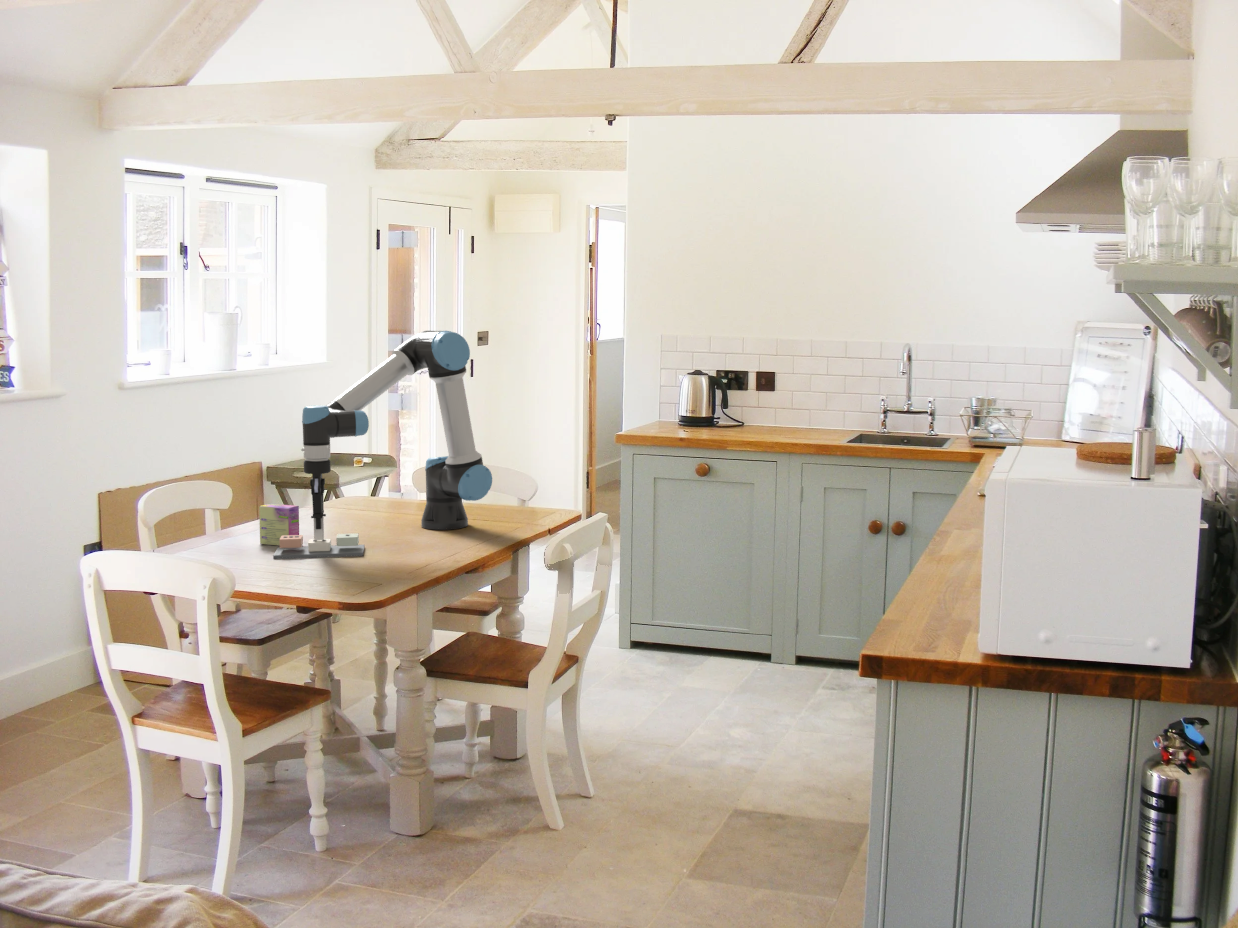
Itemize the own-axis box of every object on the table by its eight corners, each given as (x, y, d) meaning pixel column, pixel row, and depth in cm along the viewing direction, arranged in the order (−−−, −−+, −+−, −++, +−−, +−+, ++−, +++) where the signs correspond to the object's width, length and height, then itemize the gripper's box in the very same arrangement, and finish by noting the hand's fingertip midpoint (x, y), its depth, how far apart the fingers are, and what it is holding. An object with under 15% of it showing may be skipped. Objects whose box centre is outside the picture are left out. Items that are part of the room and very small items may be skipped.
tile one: (358, 541, 354) (358, 532, 353) (357, 545, 348) (357, 536, 347) (337, 542, 353) (337, 533, 352) (336, 546, 347) (336, 537, 346)
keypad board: (364, 547, 357) (364, 544, 357) (362, 555, 345) (362, 552, 345) (278, 550, 353) (278, 547, 353) (273, 558, 341) (273, 555, 341)
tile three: (303, 543, 351) (302, 534, 351) (301, 547, 345) (300, 538, 345) (281, 543, 350) (281, 534, 350) (279, 547, 344) (279, 538, 344)
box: (300, 543, 364) (299, 505, 362) (289, 546, 358) (287, 508, 357) (271, 541, 367) (269, 503, 365) (259, 544, 362) (258, 506, 360)
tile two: (331, 546, 352) (330, 537, 352) (329, 550, 347) (329, 541, 346) (310, 547, 351) (309, 538, 351) (308, 551, 346) (308, 542, 345)
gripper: (305, 456, 351) (307, 535, 354) (301, 462, 338) (303, 544, 342) (331, 456, 352) (333, 534, 356) (328, 461, 340) (330, 543, 343)
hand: (319, 539), depth 349 cm, fingers closed
